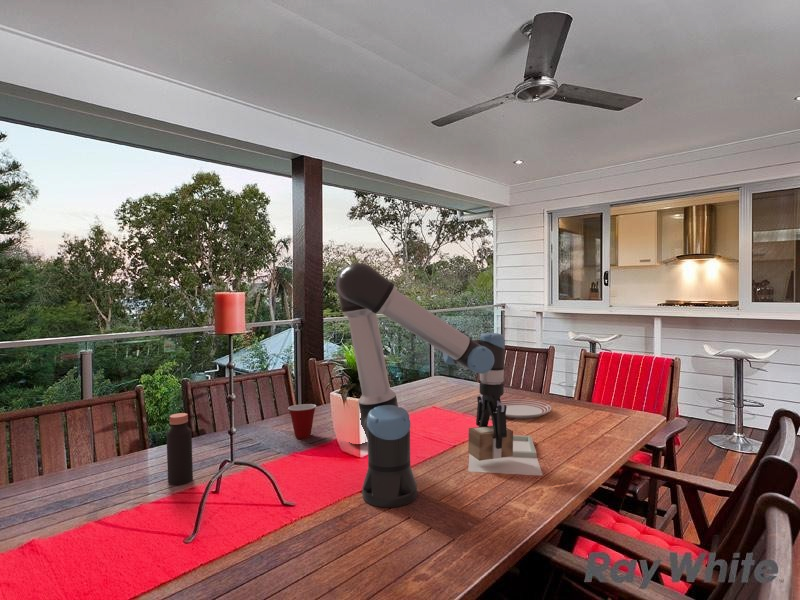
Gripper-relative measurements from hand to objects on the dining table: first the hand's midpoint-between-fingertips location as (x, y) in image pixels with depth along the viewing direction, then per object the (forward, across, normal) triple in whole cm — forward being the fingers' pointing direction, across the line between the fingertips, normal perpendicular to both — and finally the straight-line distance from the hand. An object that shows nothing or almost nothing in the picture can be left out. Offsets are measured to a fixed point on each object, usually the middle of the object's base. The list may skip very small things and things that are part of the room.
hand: (490, 453), depth 145 cm
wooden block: (0, 0, 0) cm, 0 cm away
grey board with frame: (+4, +6, -8) cm, 11 cm away
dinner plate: (+3, +47, -44) cm, 64 cm away
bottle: (+7, +24, +92) cm, 95 cm away
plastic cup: (+6, +52, +52) cm, 74 cm away
